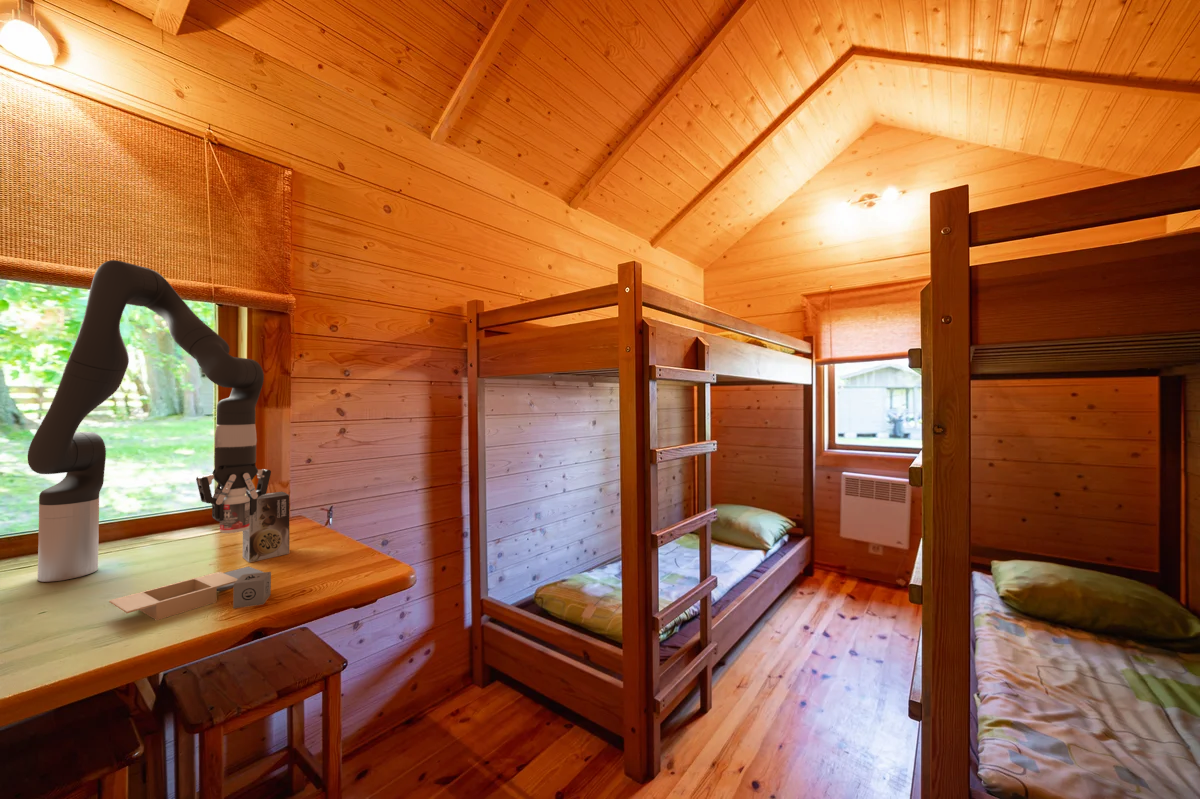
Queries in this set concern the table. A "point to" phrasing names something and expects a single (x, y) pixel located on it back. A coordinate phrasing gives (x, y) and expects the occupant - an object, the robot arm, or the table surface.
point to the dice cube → (252, 589)
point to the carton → (175, 596)
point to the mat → (238, 576)
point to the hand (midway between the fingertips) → (234, 517)
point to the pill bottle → (235, 511)
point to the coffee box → (268, 528)
